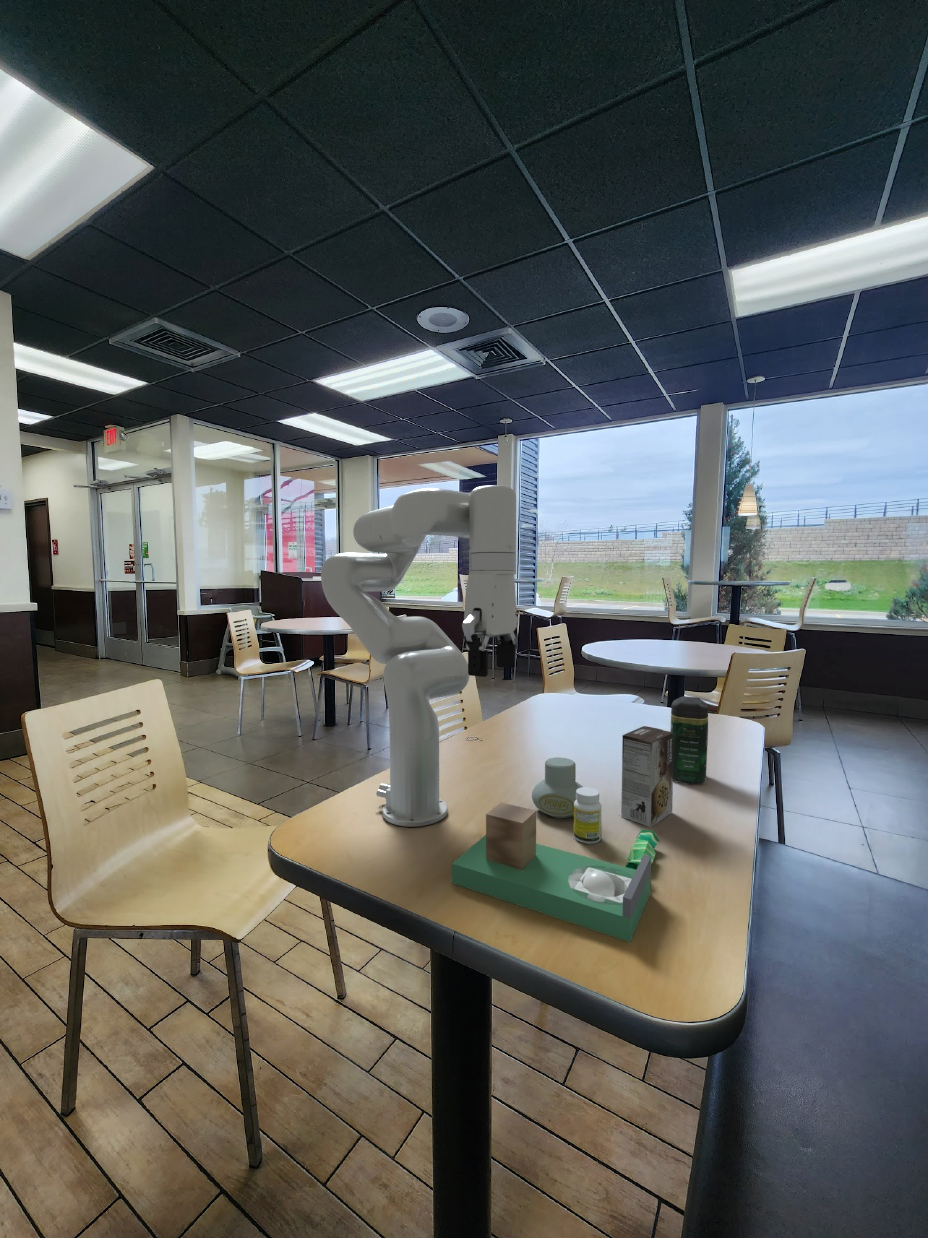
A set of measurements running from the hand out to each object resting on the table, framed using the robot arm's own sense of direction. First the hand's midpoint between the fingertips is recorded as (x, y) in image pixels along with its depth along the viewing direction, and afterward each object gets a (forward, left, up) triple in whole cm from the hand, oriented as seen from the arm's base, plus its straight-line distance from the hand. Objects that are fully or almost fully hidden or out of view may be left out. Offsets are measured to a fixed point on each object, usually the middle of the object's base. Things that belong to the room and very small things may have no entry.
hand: (492, 671), depth 86 cm
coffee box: (+19, +28, -31) cm, 46 cm away
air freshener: (+4, +21, -31) cm, 37 cm away
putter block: (+6, -5, -27) cm, 28 cm away
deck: (+12, -5, -30) cm, 33 cm away
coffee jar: (+23, +53, -31) cm, 65 cm away
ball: (+19, -5, -28) cm, 34 cm away
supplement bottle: (+12, +13, -31) cm, 35 cm away
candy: (+22, +9, -31) cm, 39 cm away
